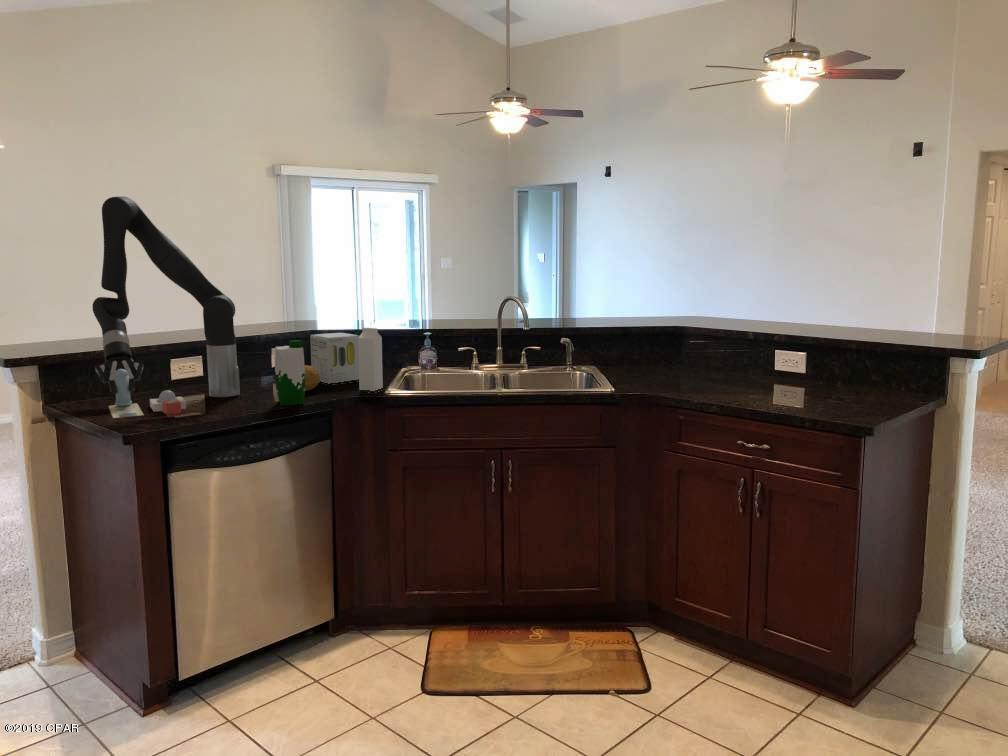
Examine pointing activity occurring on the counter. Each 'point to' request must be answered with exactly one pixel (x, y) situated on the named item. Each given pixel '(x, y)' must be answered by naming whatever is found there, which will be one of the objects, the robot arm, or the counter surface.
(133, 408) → the track
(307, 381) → the potato
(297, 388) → the milk carton
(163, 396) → the light blue rounded piece
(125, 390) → the pawn
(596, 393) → the counter surface
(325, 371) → the supplement box
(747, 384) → the counter surface
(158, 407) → the base
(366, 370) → the milk
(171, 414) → the die
